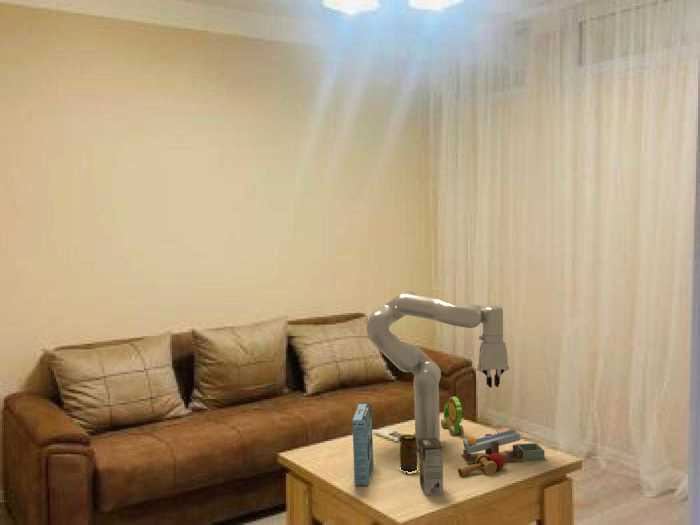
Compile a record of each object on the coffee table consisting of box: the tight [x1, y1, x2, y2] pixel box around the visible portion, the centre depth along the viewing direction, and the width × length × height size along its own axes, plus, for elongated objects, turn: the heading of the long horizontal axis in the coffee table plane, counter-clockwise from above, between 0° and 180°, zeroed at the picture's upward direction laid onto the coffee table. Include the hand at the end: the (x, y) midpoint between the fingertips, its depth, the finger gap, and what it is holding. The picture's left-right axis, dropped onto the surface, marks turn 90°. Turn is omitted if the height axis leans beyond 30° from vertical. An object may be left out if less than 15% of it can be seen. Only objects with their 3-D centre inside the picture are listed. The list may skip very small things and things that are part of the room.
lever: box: [462, 427, 522, 454], centre depth 261 cm, size 20×12×4 cm, turn 95°
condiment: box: [399, 434, 420, 475], centre depth 250 cm, size 7×8×12 cm
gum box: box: [351, 403, 374, 486], centre depth 245 cm, size 20×5×23 cm, turn 172°
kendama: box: [457, 453, 506, 478], centre depth 246 cm, size 8×6×18 cm
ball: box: [466, 436, 477, 446], centre depth 258 cm, size 4×4×4 cm
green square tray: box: [515, 442, 545, 462], centre depth 260 cm, size 8×8×4 cm
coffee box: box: [418, 438, 444, 496], centre depth 232 cm, size 9×6×16 cm
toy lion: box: [440, 396, 465, 436], centre depth 289 cm, size 16×5×15 cm, turn 13°
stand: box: [461, 433, 525, 466], centre depth 259 cm, size 21×9×8 cm, turn 95°
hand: (493, 386), depth 265 cm, fingers closed
